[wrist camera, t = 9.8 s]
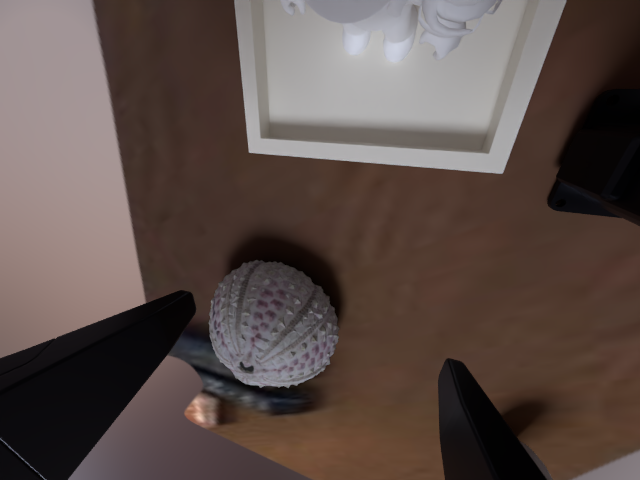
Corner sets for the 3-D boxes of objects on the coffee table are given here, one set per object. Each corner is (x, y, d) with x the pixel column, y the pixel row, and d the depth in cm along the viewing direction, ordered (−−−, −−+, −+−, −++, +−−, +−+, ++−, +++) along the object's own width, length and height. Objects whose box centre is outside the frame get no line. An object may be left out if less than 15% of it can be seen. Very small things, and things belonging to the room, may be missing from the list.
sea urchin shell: (259, 349, 32) (220, 413, 25) (210, 259, 27) (146, 308, 20) (359, 349, 27) (344, 430, 20) (320, 238, 22) (283, 295, 15)
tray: (618, -211, 9) (675, -296, 7) (490, 166, 16) (502, 173, 14) (244, -130, 13) (217, -171, 11) (264, 148, 20) (249, 152, 18)
